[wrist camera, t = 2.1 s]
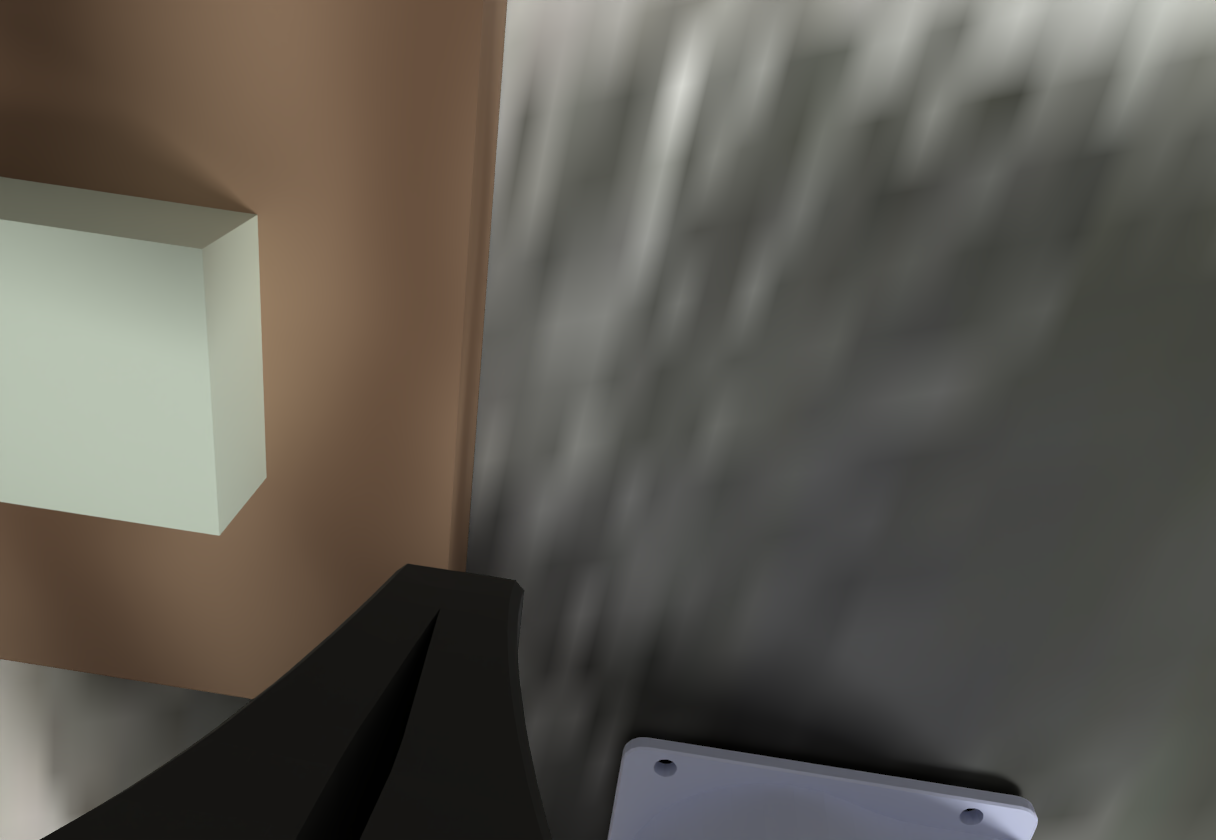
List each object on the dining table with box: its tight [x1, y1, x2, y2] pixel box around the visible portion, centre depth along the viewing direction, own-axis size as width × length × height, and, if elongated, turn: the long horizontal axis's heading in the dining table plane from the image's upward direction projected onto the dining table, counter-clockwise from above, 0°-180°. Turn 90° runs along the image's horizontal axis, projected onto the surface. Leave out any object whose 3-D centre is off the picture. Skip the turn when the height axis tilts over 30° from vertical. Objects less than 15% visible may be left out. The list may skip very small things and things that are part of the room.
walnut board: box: [0, 0, 507, 699], centre depth 18 cm, size 14×16×2 cm
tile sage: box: [0, 177, 267, 536], centre depth 17 cm, size 5×5×2 cm
